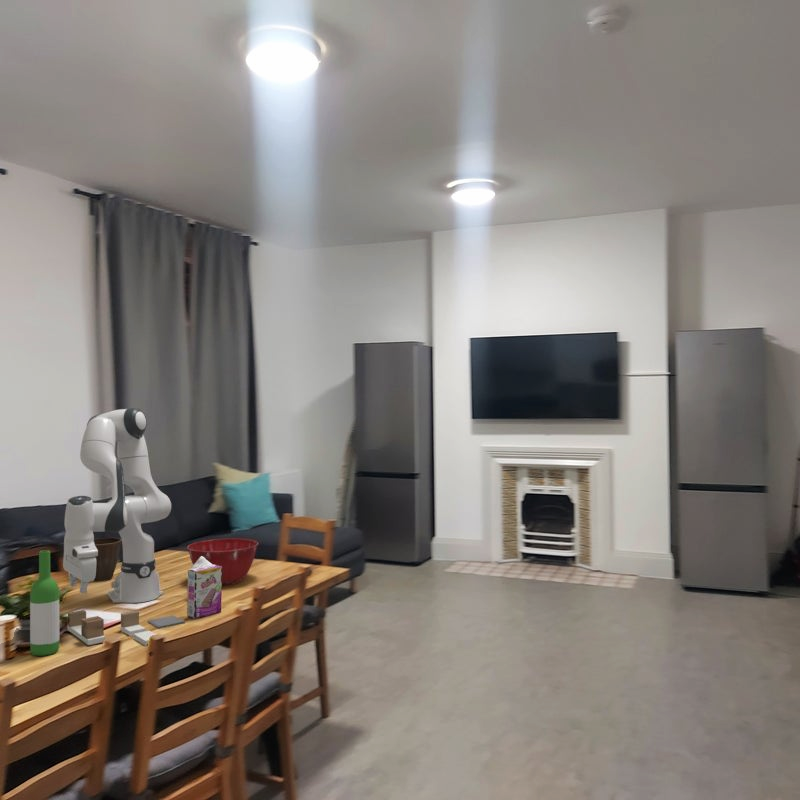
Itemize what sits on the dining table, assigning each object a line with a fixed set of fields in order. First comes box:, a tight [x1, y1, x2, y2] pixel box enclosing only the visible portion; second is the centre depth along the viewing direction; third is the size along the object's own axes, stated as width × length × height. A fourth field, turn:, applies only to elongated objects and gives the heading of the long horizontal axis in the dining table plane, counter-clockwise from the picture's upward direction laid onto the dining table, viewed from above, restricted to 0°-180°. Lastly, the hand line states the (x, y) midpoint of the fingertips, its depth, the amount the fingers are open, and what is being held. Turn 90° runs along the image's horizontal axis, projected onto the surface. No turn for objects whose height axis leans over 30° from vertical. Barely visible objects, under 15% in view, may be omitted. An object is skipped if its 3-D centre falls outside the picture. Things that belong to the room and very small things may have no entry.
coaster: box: [147, 615, 186, 629], centre depth 245 cm, size 9×9×1 cm
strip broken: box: [120, 610, 157, 647], centre depth 231 cm, size 20×5×6 cm, turn 41°
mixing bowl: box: [186, 538, 259, 586], centre depth 300 cm, size 28×28×16 cm
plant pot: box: [93, 537, 122, 582], centre depth 304 cm, size 15×15×16 cm
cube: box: [81, 615, 105, 639], centre depth 226 cm, size 5×5×5 cm
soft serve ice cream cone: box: [190, 556, 212, 569], centre depth 275 cm, size 8×8×16 cm
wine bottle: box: [29, 549, 60, 657], centre depth 216 cm, size 8×8×30 cm
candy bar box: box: [186, 565, 223, 620], centre depth 254 cm, size 11×5×16 cm, turn 141°
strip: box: [66, 609, 106, 646], centre depth 230 cm, size 20×5×6 cm, turn 41°
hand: (78, 589), depth 237 cm, fingers open, 8 cm apart
